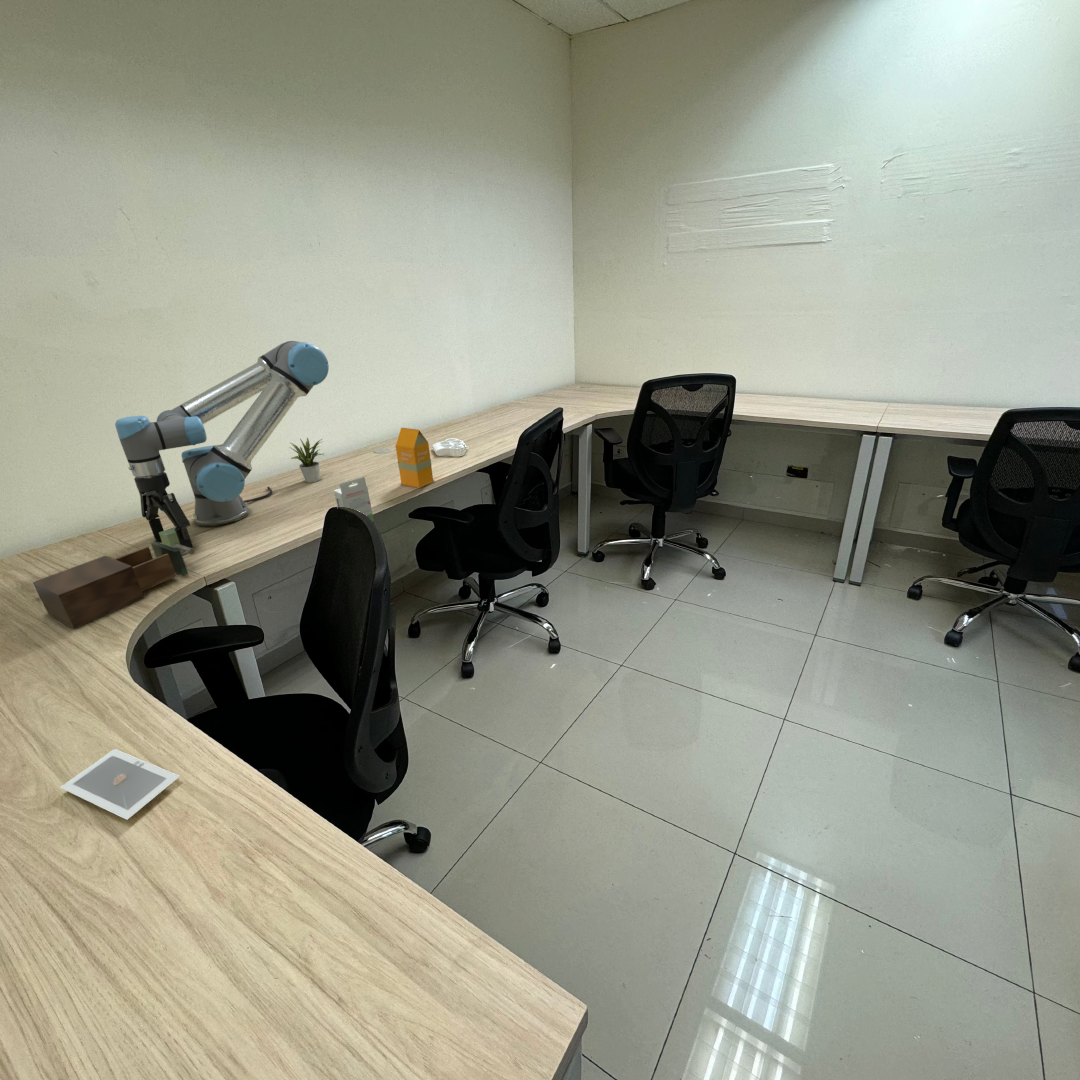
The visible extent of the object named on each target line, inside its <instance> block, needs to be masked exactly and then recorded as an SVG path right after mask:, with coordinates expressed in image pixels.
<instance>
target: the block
mask: <svg viewBox="0 0 1080 1080" xmlns="http://www.w3.org/2000/svg"><path fill="white" fill-rule="evenodd" d="M175 528H176V527H175V526H173V527H170V528H167V529H164V531H162V532H159V535H160V537H161V540H162V541H161V544H164V545H167V546H170V547H174V545H175V544H180V543H179V540H178V537H177V534H176V531H175V530H174V529H175Z"/></svg>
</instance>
